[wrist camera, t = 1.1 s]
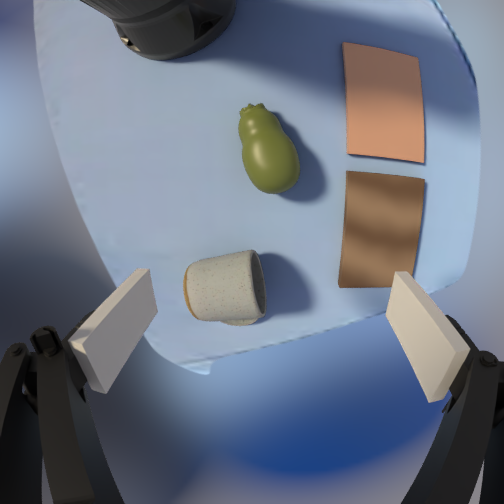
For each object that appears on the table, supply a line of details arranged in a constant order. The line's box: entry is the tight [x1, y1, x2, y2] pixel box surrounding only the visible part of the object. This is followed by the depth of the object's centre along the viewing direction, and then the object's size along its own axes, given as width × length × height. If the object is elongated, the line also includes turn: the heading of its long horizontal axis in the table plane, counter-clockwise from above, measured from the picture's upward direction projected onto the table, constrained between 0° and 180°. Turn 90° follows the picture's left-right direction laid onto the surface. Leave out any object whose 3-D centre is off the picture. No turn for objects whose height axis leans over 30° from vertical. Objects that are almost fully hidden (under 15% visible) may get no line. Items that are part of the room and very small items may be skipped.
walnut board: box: [338, 171, 425, 288], centre depth 31 cm, size 14×10×1 cm
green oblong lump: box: [238, 103, 300, 194], centre depth 27 cm, size 6×5×10 cm
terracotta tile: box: [342, 42, 424, 163], centre depth 25 cm, size 14×10×1 cm
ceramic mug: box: [183, 250, 267, 326], centre depth 32 cm, size 11×8×8 cm
